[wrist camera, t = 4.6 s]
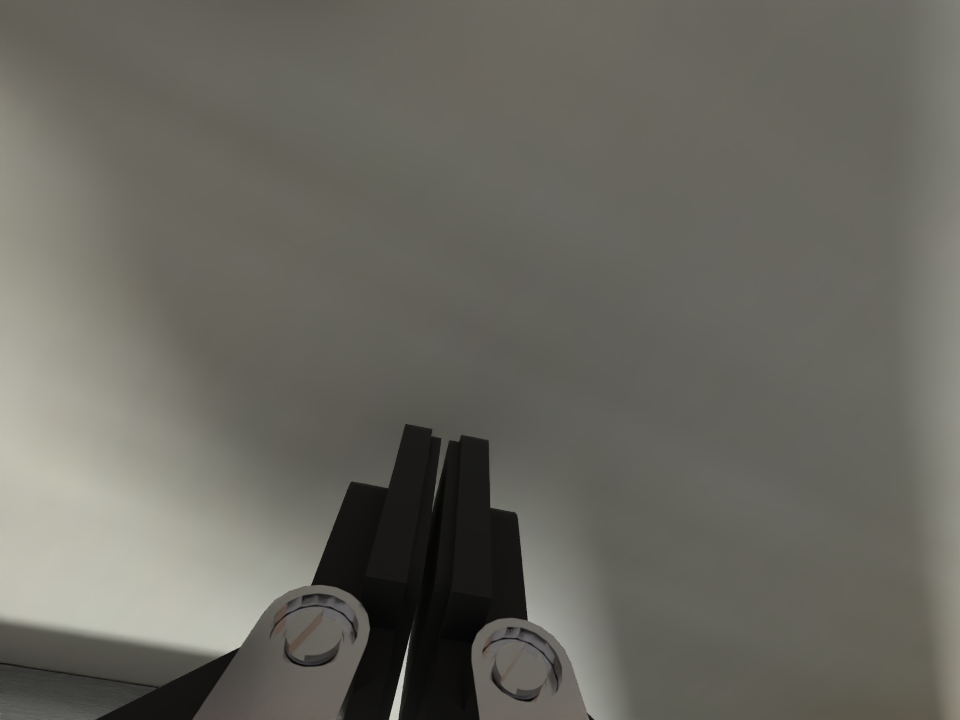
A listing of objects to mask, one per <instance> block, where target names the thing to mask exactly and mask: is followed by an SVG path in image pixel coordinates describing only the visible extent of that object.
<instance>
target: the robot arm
mask: <svg viewBox="0 0 960 720" xmlns="http://www.w3.org/2000/svg"><path fill="white" fill-rule="evenodd" d="M431 434H432V429H429V428H424V427H419V426H414V425H409V424H405V428H404V432H403V435H402V439H401V443H400V447H399V450H398V454H397V458H396V462H395V466H394V469H393V473H392V477H391V481H390V484H389V488H383V487H378V486H373V485H368V484H362V483H357V482H351V483H350V485H349V487H348V490H347V492H346V495H345V497H344V500H343V503H342V505H341V508H340V511H339V513H338V516H337V519H336V521H335V524H334V526H333V529H332V532H331V534H330V537H329V540H328V542H327V545H326V547H325V550H324V553H323V555H322V558H321V561H320V563H319V566H318V568H317V571H316V574H315V576H314V579H313V582H312V584H311V586H304V587H301V588H297V589H294V590H291V591H289V592H287V593H285V594H284V595H282V596H281V597H279V598H277V599H276V600H274V602H273V603H272V604H271V605H270V606H269V607H268V608H267V609H266V610H265V611H264V613H263V614H262V616H261V617H260V619H259V620H258V622H257V623H256V625H255V626H254V628H253V629H252V631H251V632H250V634H249V635H248V637H247V638H246V640H245V641H244V643H243V644H242V646H241V647H240V648H238V649H236V650H234V651H232V652H230V653H228V654H226V655H224V656H222V657H220V658H218V659H216V660H214V661H212V662H210V663H208V664H206V665H204V666H202V667H200V668H198V669H196V670H194V671H192V672H190V673H188V674H186V675H184V676H182V677H180V678H178V679H176V680H174V681H172V682H170V683H168V684H166V685H164V686H162V687H160V688H158V689H156V690H154V691H152V692H150V693H148V694H146V695H144V696H142V697H140V698H138V699H136V700H134V701H132V702H130V703H128V704H126V705H124V706H122V707H120V708H118V709H116V710H114V711H112V712H110V713H108V714H106V715H104V716H102V717H100V718H98V719H96V720H389V717H390V713H391V709H392V705H393V701H394V697H395V693H396V689H397V685H398V681H399V677H400V673H401V669H402V665H403V661H404V656H405V652H406V648H407V644H408V640H409V636H410V642H409V649H408V656H407V663H406V670H405V677H404V684H403V691H402V698H401V705H400V712H399V719H398V720H594V719H593V718H592V717H591V716H590V715H589V714H588V713H587V711H586V708H585V705H584V702H583V699H582V695H581V692H580V689H579V686H578V683H577V680H576V677H575V674H574V671H573V668H572V664H571V662H570V660H569V658H568V656H567V654H566V652H565V649H564V648H563V647H562V646H561V645H560V643H559V642H558V641H557V640H556V639H555V637H554V636H552V635H551V634H550V633H548V632H547V631H546V630H544V629H543V628H542V627H540V626H538V625H536V624H533V623H531V622H529V621H528V619H527V608H526V598H525V588H524V577H523V567H522V556H521V546H520V536H519V525H518V518H517V514H516V513H515V512H510V511H504V510H499V509H494V508H490V479H489V442H488V440H484V439H479V438H474V437H469V436H464V435H461V438H460V441H459V442H457V441H452V440H450V441H449V444H448V448H447V452H446V456H445V460H444V464H443V469H442V473H441V477H440V481H439V485H438V489H437V494H436V498H435V502H434V506H433V499H434V491H435V484H436V476H437V468H438V461H439V453H440V446H441V438H437V437H432V436H431ZM432 506H433V510H432ZM410 632H411V635H410Z"/></svg>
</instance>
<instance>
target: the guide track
mask: <svg viewBox="0 0 960 720" xmlns="http://www.w3.org/2000/svg"><path fill="white" fill-rule="evenodd" d="M156 689H158V688H154V687H148V686H141V685H135V684H128V683H122V682H115V681H108V680H102V679H95V678H89V677H82V676H76V675H69V674H63V673H56V672H50V671H43V670H37V669H30V668H24V667H17V666H11V665H4V664H0V720H96V719H98V718H100V717H102V716H104V715H106V714H108V713H110V712H112V711H114V710H116V709H118V708H120V707H122V706H124V705H126V704H128V703H130V702H132V701H134V700H136V699H138V698H140V697H142V696H144V695H146V694H148V693H150V692H152V691H154V690H156Z"/></svg>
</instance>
